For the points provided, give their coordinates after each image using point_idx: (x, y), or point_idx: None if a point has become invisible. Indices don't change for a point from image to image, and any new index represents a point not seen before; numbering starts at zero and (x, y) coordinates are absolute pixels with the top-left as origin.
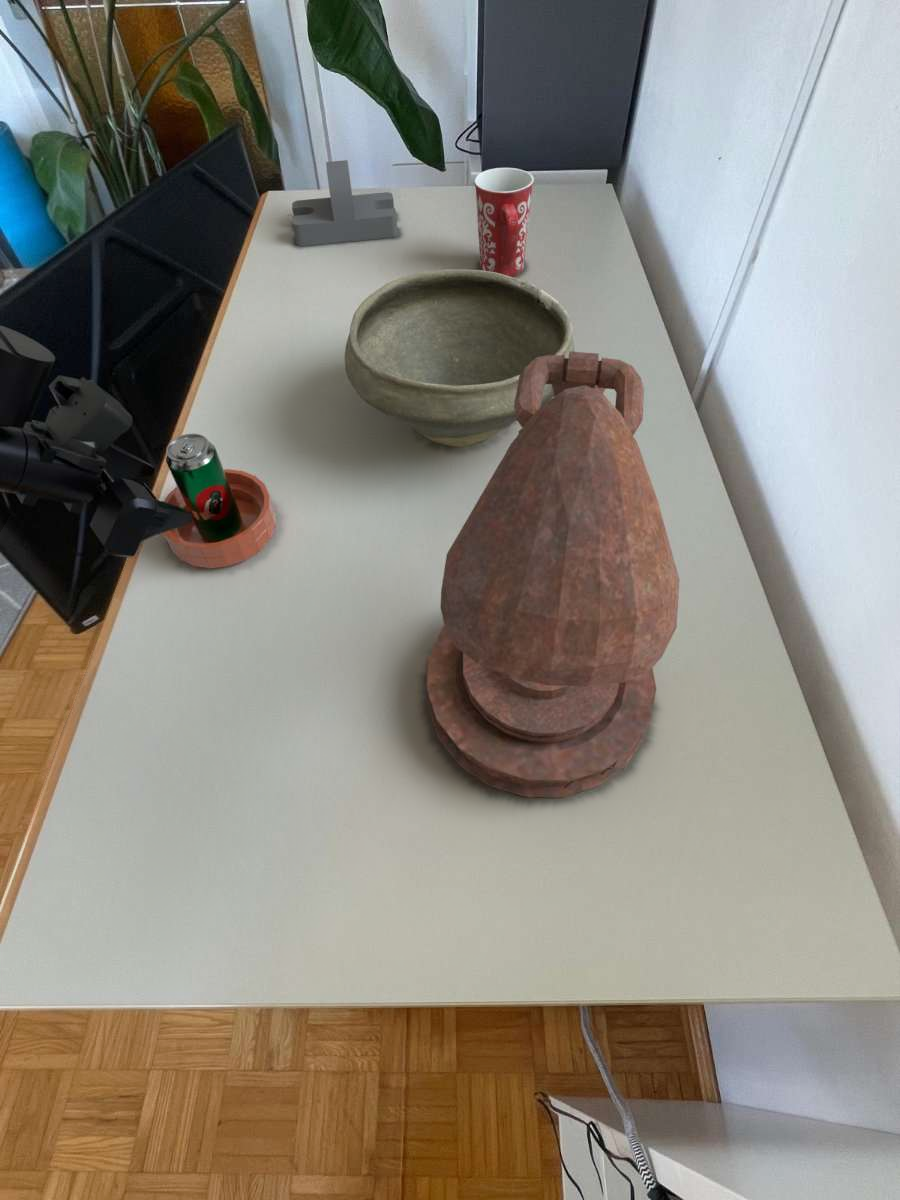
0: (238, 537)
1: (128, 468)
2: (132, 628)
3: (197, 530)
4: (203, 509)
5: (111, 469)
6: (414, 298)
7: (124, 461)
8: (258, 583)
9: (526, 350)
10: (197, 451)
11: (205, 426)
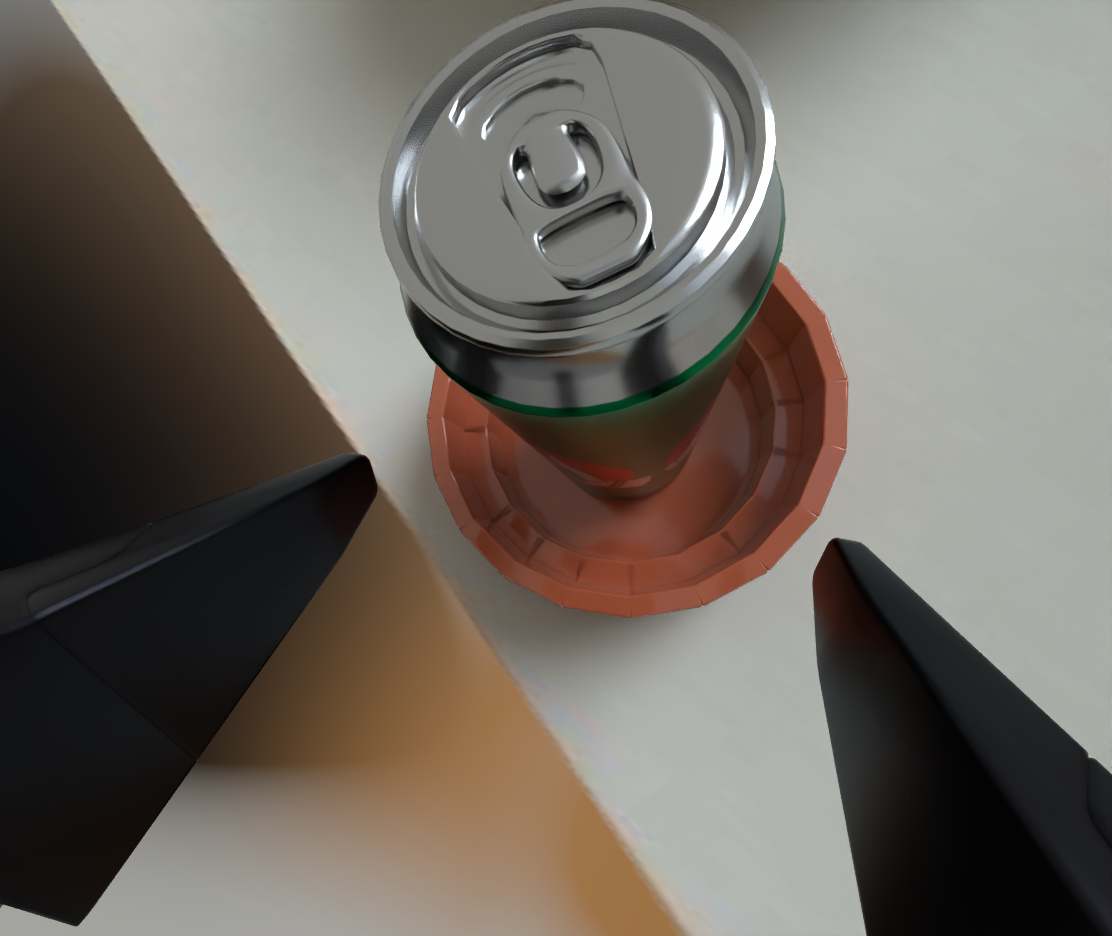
0: (841, 437)
1: (275, 574)
2: (742, 898)
3: (571, 489)
4: (685, 449)
5: (204, 673)
6: None
7: (220, 578)
8: (904, 501)
9: None
10: (693, 118)
11: (277, 243)
